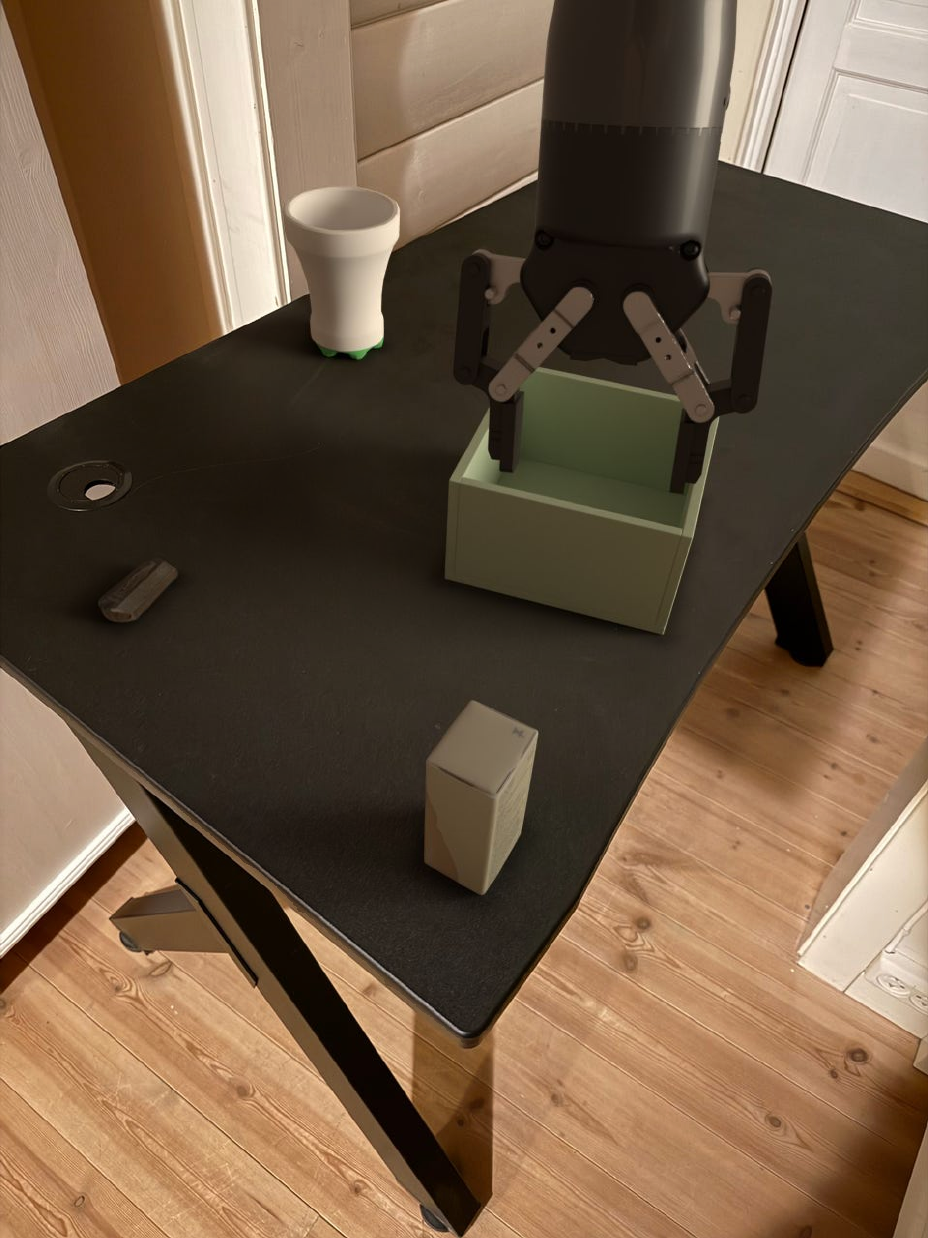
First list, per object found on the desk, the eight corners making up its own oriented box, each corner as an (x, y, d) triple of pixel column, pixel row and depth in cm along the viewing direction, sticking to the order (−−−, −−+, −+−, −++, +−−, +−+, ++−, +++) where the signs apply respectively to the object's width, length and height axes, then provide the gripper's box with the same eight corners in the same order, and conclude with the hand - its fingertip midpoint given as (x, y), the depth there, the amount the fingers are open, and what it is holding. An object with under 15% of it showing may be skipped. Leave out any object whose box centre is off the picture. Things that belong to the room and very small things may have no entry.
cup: (421, 340, 98) (424, 206, 87) (353, 383, 91) (347, 243, 81) (342, 307, 102) (336, 175, 92) (272, 345, 95) (257, 208, 85)
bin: (694, 499, 81) (722, 404, 74) (663, 635, 69) (692, 538, 62) (504, 456, 84) (514, 361, 77) (444, 579, 72) (448, 480, 65)
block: (182, 581, 70) (178, 564, 69) (130, 631, 67) (124, 614, 65) (145, 566, 71) (140, 548, 70) (91, 613, 68) (85, 596, 66)
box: (464, 802, 58) (474, 693, 50) (523, 834, 56) (543, 727, 48) (419, 866, 55) (423, 760, 47) (482, 901, 53) (496, 798, 45)
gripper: (443, 108, 36) (437, 489, 44) (820, 125, 33) (737, 526, 42) (484, 102, 42) (472, 437, 50) (804, 116, 39) (734, 467, 48)
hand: (592, 477), depth 46 cm, fingers open, 8 cm apart
